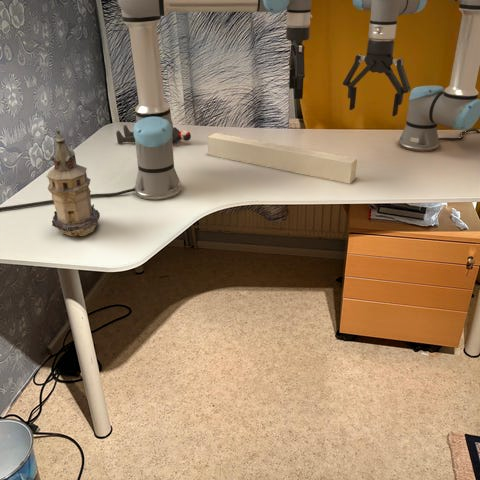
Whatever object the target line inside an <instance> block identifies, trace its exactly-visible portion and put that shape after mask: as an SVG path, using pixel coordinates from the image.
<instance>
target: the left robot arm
mask: <svg viewBox="0 0 480 480" xmlns="http://www.w3.org/2000/svg"><path fill="white" fill-rule="evenodd" d="M117 4H118V6H119V7H120V9H121V10H120V11H121V17H122V23H124V25H126V27H127V28H128V31H129V39H130V47H131V55H132V61H133V62H132V63H133V69H134V77H135V85H136V93H137V99H138V105H136V107H135V109H134V112H135V113H134V114H135V121H136V122H135V123H134V125H133V132H134V138H135V142H134V143H135V151H136V160H137V175H136V179H135V184H134V187H133V188H129V189H125V190H121V191H117V192H109V193H106V192H105V193H90V197H91V198H99V197H101V198H102V197H116V196H121V195H123V194H128V193H132V192H134V193H135V195H136V196H137V197H138V198H141V199H143V200H148V201H161V200H168V199H171V198H174V197H176V196H178V195H179V194H180V193H181V192H182V182H181V180H180V177H179V176H178V173H177V171H176V169H175V161H174V160H175V159H174V158H175V157H174V147H173V146H174V145H172V131H173V127H174V124H173V121H172V113H171V106H170V105H169V104H168V103H167V102H166V101H165V100H166V99H165V90H164V82H163V81H164V80H163V72H162V71H163V70H162V63H161V55H160V53H161V52H160V44H159V33H158V24H159V23H160V22H161V20H162V17H166V16H167V15H168V14H169V13H221V12H222V13H240V12H241V13H242V12H243V13H251V12H253V13H254V12H256V13H271V14H280V13H282V12H284V11H285V10H286V17H285V18H286V22H285V24H286V26H287V27H286V29H285V38H286V40H288V41H290V51H289V62H288V66H289V79H288V89H289V90H292V89H293V99H294V100H303V99H304V98H303V96H304V79H305V77H306V73H305V45H304V44H303V42H304V41H308V40H309V39H310V36H311V28H310V26H311V19H313V15H312V14H311V11H312V0H117ZM47 204H54V201H53V200H52V199H49V200H42V201H35V202H29V203H22V204H15V205H8V206H0V211H6V210H13V209H19V208H20V209H21V208H27V207H28V208H29V207H34V206H41V205H47Z"/></svg>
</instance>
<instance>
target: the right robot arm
mask: <svg viewBox="0 0 480 480" xmlns="http://www.w3.org/2000/svg"><path fill="white" fill-rule="evenodd" d="M449 1H450V2H459V5H458V10H459V11H460V12H461V14H462V15H461V21H460V26H459V31H458V38H457V43H456V47H455V55H454V58H453V63H452V64H453V65H452V70H451V76H450V81H449V85H448V86H447V87H445V88H444V86H442V85H422V86H416V87H414V88H411V86H410V82H409V80H408V76H407V72H406V69H405V67H404V58H403V57H400V58H394V48H395V40H394V39H395V38H396V33H397V24H398V17H399V16H404V15H414V14H417V13H420V12H421V11H423V10H424V8H426V5H427V2H428V0H352V4H353V6H354V8H355V9H357V10H361V11H364V12H365V11H367V12H368V11H369V12H370V19H369V27H368V40H367V45H366V46H367V47H366V55H362V53H359V54H357V55H355V58H354V62H353V64H352V66H351V68H350V70H349V71H348V73H347V75H346V77H345V78H344V80H343V82H342V85H343V86H345V87H347V88H348V89H347V99H349V107H348V108H349V111H353V110H354V109H355V108H356V100H357V88H358V87H357V86H356V85H357V84H358V83H359V82H360V81H361V80H362V79H363V78H364V77H365V76H366V75H367V74H368V73H369V72H371V73H378V74H385V76H386V77H387V79H388V80H389V81H390V83H391V85H392V87H394V90H395V91H396V92H395V94H394V100H393V106H392V115H391V116H392V117H396V116H397V115H398V113H399V106H401V105H402V104H403V101H404V99H403V98H404V94H408V93H409V92H410V95H409V98H408V107H407V113H406V114H407V115H406V121H405V122H406V123H405V126H404V128H403V130H402V132H401V135H400V137H399V139H398V146H399V147H400V148H402V149H404V150H407V151H411V152H420V153H428V152H433V151H436V150H438V149H439V147H440V141H458V140H462V139H463V138H464V135H463V134H466V133H469V132H476V133H478V134H480V130H479V129H477V128H472V127H473V126H475V124H476V123H477V122H478V120H479V119H480V98H479V91H478V90H477V88H476V85H477V80H478V75H479V70H480V0H449ZM363 62H364V63H365V65H366V66H365V67H364V68H363V69H362V70H361V71H360V72H359V74H357V75H356V76H355V77H354V75H355V73H356V72H357V71H358V69H359V67H360V65H361V63H363ZM392 65H394V67H396V70H397V73H398V77H399V79H400V81H399V79H398V77H397V76H396V75H395V72H394V71H393V69H392V67H391V66H392ZM353 77H354V79H353ZM352 79H353V80H352ZM438 126H442V127H447V128H450V129H453V130H457V131H461V132H460V133H459V137H461V135H463V136H462V137H461V138H458V137H439V132H438ZM465 131H466V132H465ZM461 133H462V134H461Z"/></svg>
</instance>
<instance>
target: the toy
mask: <svg viewBox="0 0 480 480" xmlns="http://www.w3.org/2000/svg"><path fill="white" fill-rule="evenodd" d="M122 128H123V134H124V135H123V134H122V132H121V131H120V130H117V131H115V133H116V141H117V144H119V145H120V144H121V145H122V144H123V143H135V138H134V131H130V129H129V128H128V126H127V125H126V124H124V125H123V127H122ZM191 136H192V134H191V132H190V131H189V130H181V131H180V130H179V129H178V128H177V127H176V126H173V131H172V145H173V146H175V145H178V144H179V143H180V142H181V141H184V142H188V141H190V140H191Z"/></svg>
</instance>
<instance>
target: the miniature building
mask: <svg viewBox="0 0 480 480" xmlns="http://www.w3.org/2000/svg"><path fill="white" fill-rule="evenodd" d="M56 134H57V136H56V138H55V140H54V141H55V142H56V147H55V154H54V156H52V157H51V161H52V162H53V165H54V167H53V168H51V169H50V170H49V171H48V173H47V174H46V178H47V179H48V182H49V184H48V186H47V190H48V191H49V193H50V194H51V200H53V201H54V203H53V205H54V209H55V211H53V217H52V220H51V223H52V225H51V227H54V228H56V229H58V230H59V231H60V234H63V235H64V234H65V235H66V236H69V237H77V236H80V237H83V236H87V235H88V234H90V233H93V232H94V231H95V229H96V226H97V225H98V223H99V220H100V216H101V213H100V212H99V210H98V209H96V208H95V204H92V201H91V200H92V199H91V198H92V197H90V194H91V192H92V191H91V188H90V184H91V178H89V177H88V174H87V167H85V166H84V165H83V166H82V165H80V164H77V160H76V154H75V151H74V150H70V149H69V147H68V145H67V143H66V138H65V137H64V136H63V135H61V130H60V129H56Z"/></svg>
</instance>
